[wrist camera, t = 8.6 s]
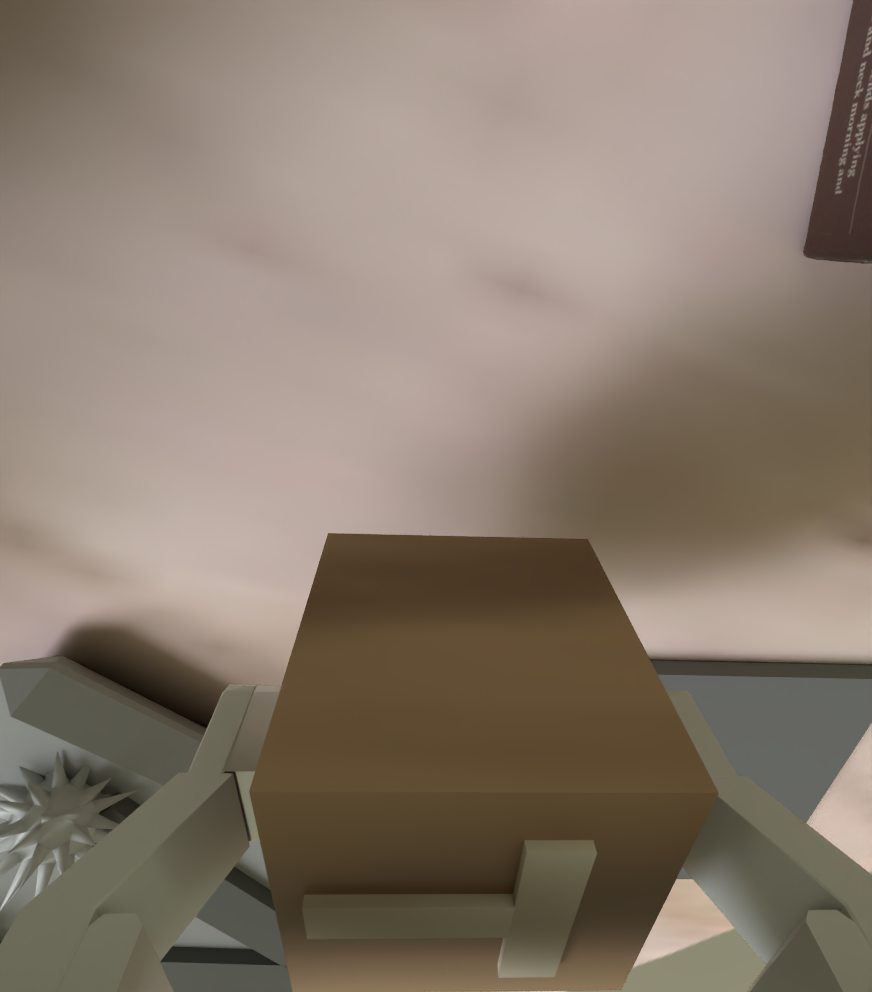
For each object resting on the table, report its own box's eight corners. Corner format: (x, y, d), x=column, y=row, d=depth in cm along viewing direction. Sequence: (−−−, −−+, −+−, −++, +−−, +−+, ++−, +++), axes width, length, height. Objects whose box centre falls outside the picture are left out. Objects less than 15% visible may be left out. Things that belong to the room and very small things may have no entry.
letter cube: (328, 533, 10) (244, 804, 5) (587, 539, 10) (725, 806, 5) (340, 712, 12) (291, 1006, 8) (550, 714, 12) (624, 1001, 8)
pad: (527, 657, 17) (530, 672, 16) (884, 665, 17) (899, 679, 16) (490, 862, 22) (492, 878, 22) (760, 863, 23) (768, 879, 22)
